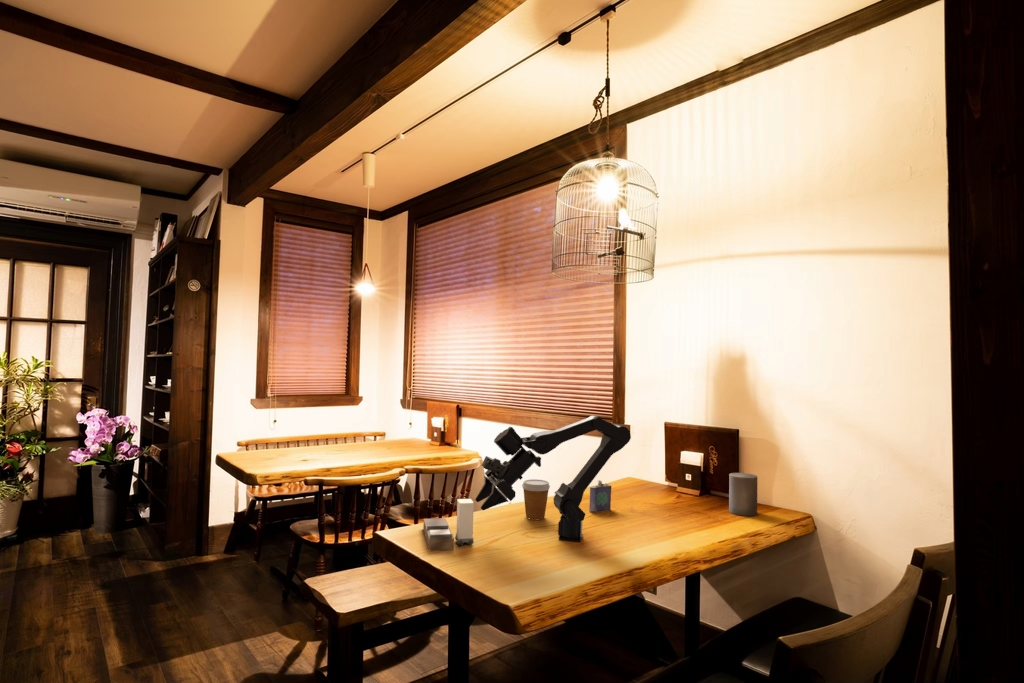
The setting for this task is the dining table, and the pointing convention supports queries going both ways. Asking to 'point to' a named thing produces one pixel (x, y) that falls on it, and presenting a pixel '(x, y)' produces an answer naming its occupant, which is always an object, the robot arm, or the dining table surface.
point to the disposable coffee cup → (535, 498)
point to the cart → (464, 521)
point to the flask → (600, 498)
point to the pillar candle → (743, 494)
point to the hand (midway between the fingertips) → (478, 504)
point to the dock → (438, 534)
